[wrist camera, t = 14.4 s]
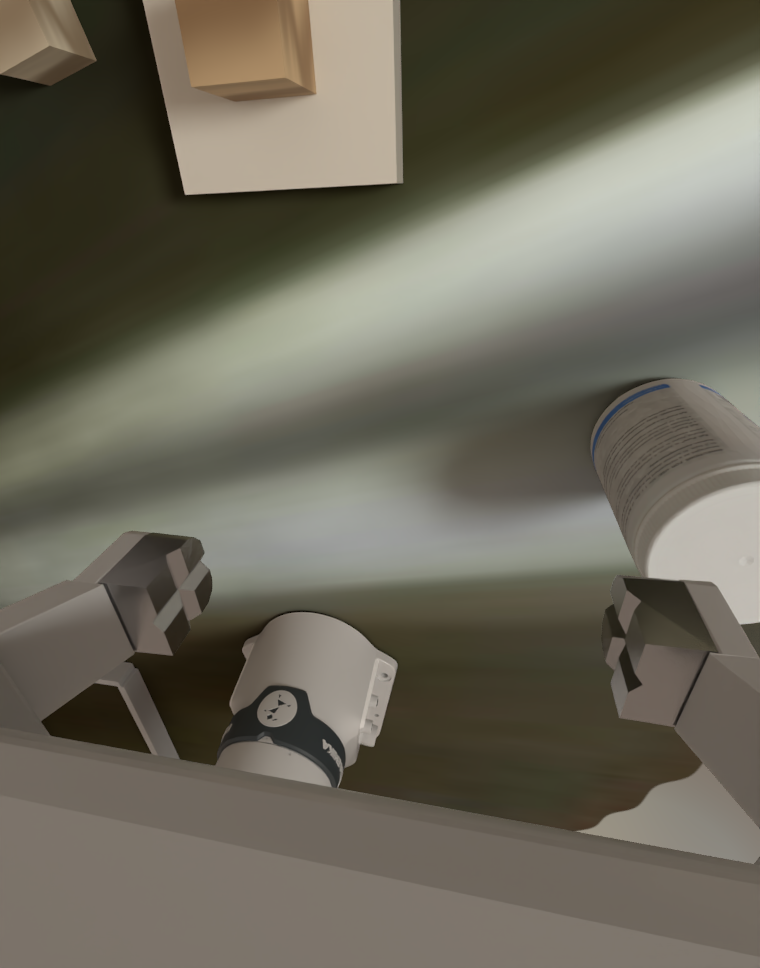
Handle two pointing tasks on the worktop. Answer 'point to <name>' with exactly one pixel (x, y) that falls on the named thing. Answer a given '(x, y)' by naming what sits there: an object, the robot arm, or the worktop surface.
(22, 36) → the maple block
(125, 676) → the grey tray rim
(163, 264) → the worktop surface
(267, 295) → the worktop surface
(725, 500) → the supplement tub
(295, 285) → the worktop surface
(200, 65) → the oak block
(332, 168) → the plate
